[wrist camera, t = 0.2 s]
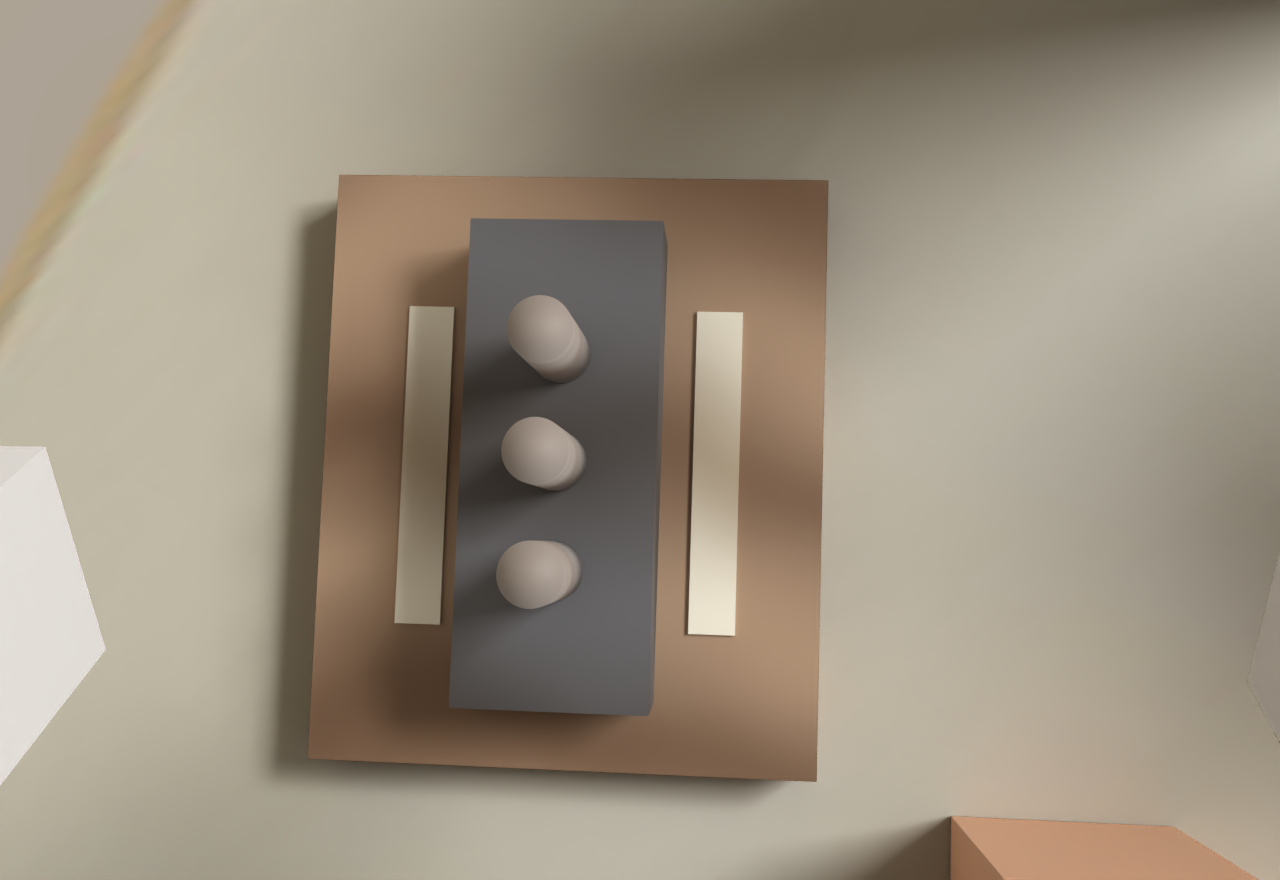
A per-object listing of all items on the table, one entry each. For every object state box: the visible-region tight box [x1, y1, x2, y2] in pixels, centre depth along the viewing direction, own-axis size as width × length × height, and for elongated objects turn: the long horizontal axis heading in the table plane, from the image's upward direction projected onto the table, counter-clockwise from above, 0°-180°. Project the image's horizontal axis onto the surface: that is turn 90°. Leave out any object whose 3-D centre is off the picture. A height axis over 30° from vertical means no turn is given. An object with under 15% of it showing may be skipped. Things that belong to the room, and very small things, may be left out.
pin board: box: [308, 175, 828, 782], centre depth 25 cm, size 13×11×6 cm
